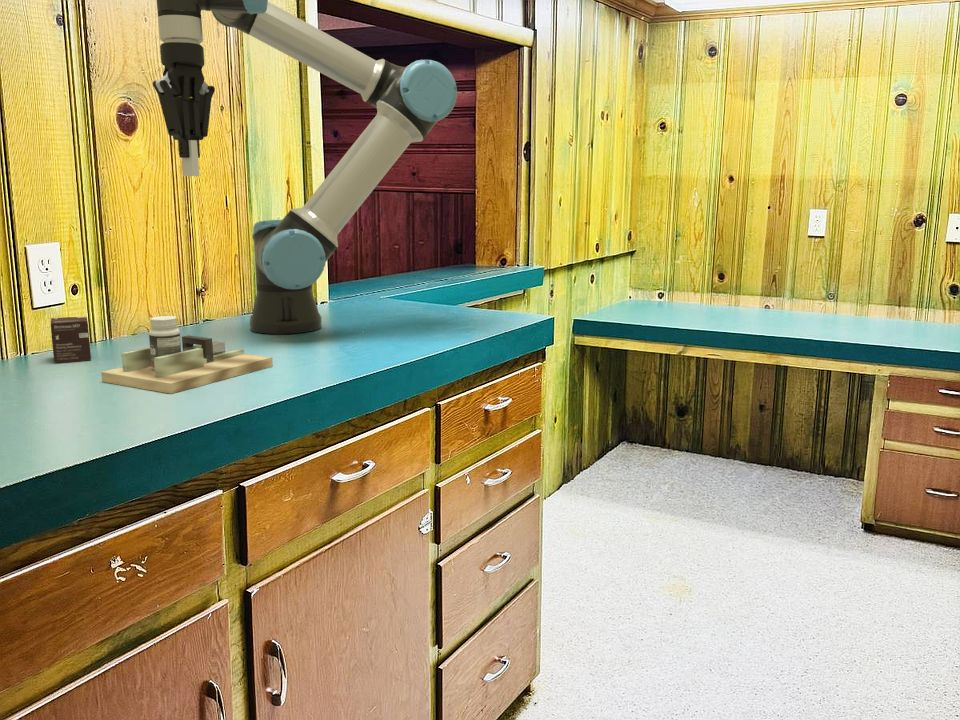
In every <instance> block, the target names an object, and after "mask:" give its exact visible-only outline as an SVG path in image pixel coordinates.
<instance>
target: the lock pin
mask: <svg viewBox="0 0 960 720" xmlns="http://www.w3.org/2000/svg"><path fill="white" fill-rule="evenodd" d="M212 344H213V355H217V354H221V353H225V351H226V342H225V341H217V340H212ZM196 348H202V346H201V345H197V344H193V346H190V347H185V348H183V347H182V351H183V350H184V351H187V350H192V349H196Z"/></svg>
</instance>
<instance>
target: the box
mask: <svg viewBox="0 0 960 720" xmlns="http://www.w3.org/2000/svg"><path fill="white" fill-rule="evenodd" d="M89 331H90V330H89V323H88V317H87V316H65V317H51V319H50V333H51V345H52V353H53V354H52V355H53V362H54V363H55V364H59V363H60V364H61V363H75V362H86V361H87V362H88V361H92V353H91V343H90V332H89Z"/></svg>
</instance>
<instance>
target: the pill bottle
mask: <svg viewBox="0 0 960 720" xmlns="http://www.w3.org/2000/svg"><path fill="white" fill-rule="evenodd" d="M177 326H178V317H177V316H175V315H161V316H154V317H153V316H152V317H150V328H151V329H150V330H149V332H148V338H149V347H150V353H151V365H152V369H153V370H155V366H154V358H156V357H160V356H165V355H169V354H174V353H178V352H182V340H181V331H180V329H179V328H178V327H177Z"/></svg>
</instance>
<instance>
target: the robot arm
mask: <svg viewBox="0 0 960 720" xmlns="http://www.w3.org/2000/svg"><path fill="white" fill-rule="evenodd" d="M156 9H157V23H158V36H159V40H160V41H161V42H163V43H161V44H160V45H159V50H160V62H161V64H162V65H163V66H164V68H163V72H162V77H161V78H159V79H158V80H153V82H152V86H153V88H154V90H155V92H156V94H157V95H158V96H157V97H158V100H159V103H160V107H161V112H162V114H163V118H164V119H163V120H164V123H165V126H166V130H167V134H168V136H171V137H172V138H173V141H178V142H177V143H178V155H179V158H181V166H182V167H181V168H182V176H183V177H200V165H199V163H200V161H199V158H200V157H201V151H200V147H201V146H200V141H203V140H204V138H207V137H208V134H209V126H210V125H209V124H210V117H211V116H210V115H211V108H212V107H211V106H212V98H213V96H214V93H215V91H216V88H215V86H213V85H209V84H208V83H207V82H206V81H205V76H204V73H203V67H204V66H205V53H204V51H205V50H204V49H205V48H204V47H203V45H201V44H202V43H203V42H204V35H203V23H202V21H203V20H202V11H206V12H211V13H212V16H213V18H214V19H215V20H216V21H217V22H218V23H219V24H220V25H221V26H224V27H227V28H234V29H237V30H238V31H241V32H242V33H244V34H247V35H249V36H251V37H253V38H254V39H257V40H258V41H260V42H261V43H264V44H266V45H267V46H270V47H271V48H274V49H275V50H277V51H279V52H280V53H283V54H285V55H287V56H288V57H290V58H292V59H294V60H296V61H298V62H299V63H301V64H304V65H305V66H307V67H309V68H311V69H313V70H315V71H316V72H318V73H320V74H322V75H324V76H326V77H328V78H329V79H332V80H333V81H335V82H337V83H339V84H341V85H343V86H345V87H346V88H349V89H351V91H354V92H356V93H358V94H359V95H360V96H361V99H362V101H363V102H364V103H367V104H368V105H371V106H372V107H374V108H376V111H377V113H376V115H375V117H374V118H373V119H372V120H371V121H370V122H369V123H368V125H367V126H366V127H365V129H364V130H363V131H362V133H361V134H360V135H359V136H358V138H357V139H356V140H355V142H353V144H352V145H351V146H350V148H348V150H347V151H346V152H345V154H344V155H343V156H342V158H341V159H340V160H339V161H338V162H337V164H336V165H335V166H334V168H333V169H332V170H331V171H330V172H329V173H328V175H327V176H326V177H325V179H324V180H323V181H322V183H321V184H320V185H319V186H318V188H316V190H315V191H314V192H313V194H312V195H311V197H310V198H309V199H308V200H307V202H305V204H304V205H303V206H302V207H299V208H291V209H289V211H288V213H287V214H286V215H285V216H284V217H283V218H282V219H268V220H260V221H257V222H255V223H254V225H253V231H252V240H253V251H254V266H255V269H254V270H255V271H254V272H255V285H256V290H255V291H256V295H255V300H254V303H253V309H252V313H251V314H252V315H251V316H250V318H249V327H250V331H252V332H254V333H259V334H269V335H270V334H271V335H275V334H276V335H278V334H279V335H284V334H285V335H286V334H300V333H308V332H312V331H317V330H320V329H321V328H322V327H323V326H322V316H321V314H320V313H319V309H318V307H317V303H316V299H315V297H314V293H313V287H312V285H313V284H315V283H316V282H317V281H318V279H319V278H320V277H321V275H322V273H323V272H324V269H325V266H326V262H327V261H328V260H329V259H330V257H331V256H332V255H333V254H334V252H335V251H336V250H337V249H338V247H339V243H338V235H339V233H340V232H341V231H343V229H344V228H345V226H346V225H347V224H348V222H349V221H350V220H351V218H352V217H353V216H354V214H356V212H357V211H358V210H359V208H360V207H361V206H362V205H363V203H365V201H366V200H367V199H368V197H369V196H370V195H371V193H372V192H373V191H374V190H375V189H376V187H377V186H378V185H379V183H380V182H381V181H382V180H383V178H384V177H385V176H386V174H387V173H388V172H389V171H390V169H391V168H392V167H393V166H394V164H395V163H396V162H397V161H398V159H399V158H400V157H401V156H402V154H403V153H404V152H405V151H406V149H408V147H409V146H410V144H412V143H418V142H423V141H424V139H425V138H426V136H428V134H429V133H430V132H431V131H432V129H433V128H434V127H435V125H436V124H437V123H438V122H439V121H442V120H443V119H446V117H448V116H449V115H450V113H451V112H452V111H453V110H454V107H455V106H456V102H457V100H458V99H457V98H458V87H457V83H456V80H455V78H454V76H453V74H452V73H451V71H450V70H449V69H448V68H447V67H446V66H445V65H444V64H442V63H441V62H439V61H435V60H432V59H419V60H415V61H412V62H411V63H410V64H409V65H407V66H400V65H396V64H394V63H392V62H389V61H388V60H386V59H384V58H381V59H378V60H376V59H374V58H372V57H370V56H369V55H367V54H365V53H364V52H361V51H359V50H357V49H356V48H354V47H352V46H350V45H348V44H346V43H344V42H343V41H341V40H339V39H337V38H335V37H333V36H331V34H328V33H327V32H324V31H322V29H319V28H317V27H316V26H313V25H311V24H310V23H308V22H306V21H304V20H303V19H301V18H298V17H297V16H295V15H294V14H292V13H290V12H288V11H286V10H284V9H282V8H281V7H279V6H277V5H275V4H273V3H271V2H270V1H269V0H156Z"/></svg>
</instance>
